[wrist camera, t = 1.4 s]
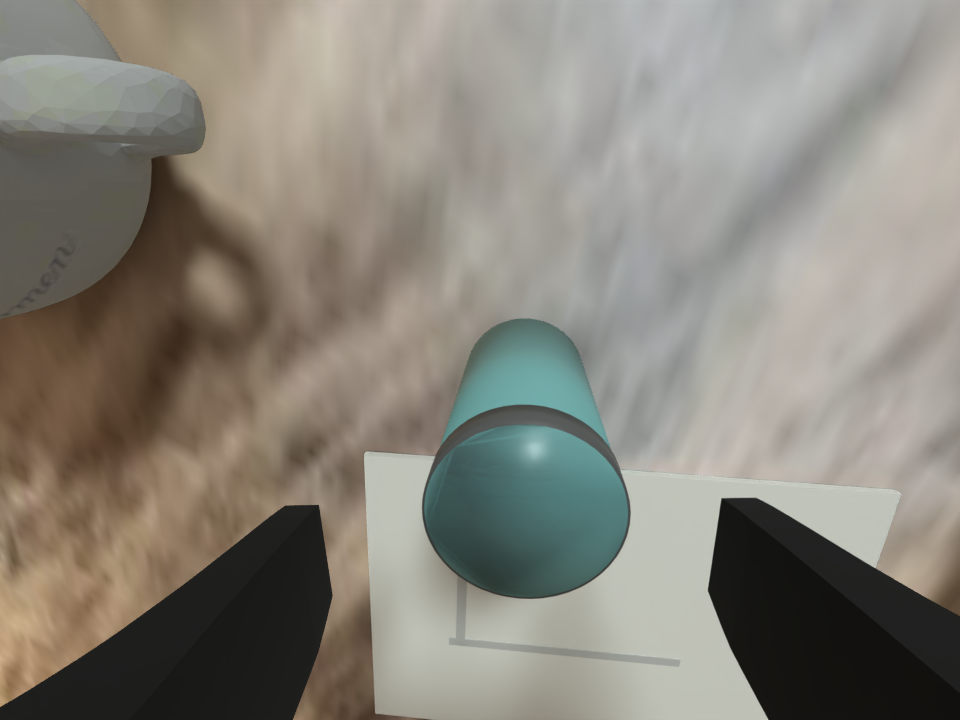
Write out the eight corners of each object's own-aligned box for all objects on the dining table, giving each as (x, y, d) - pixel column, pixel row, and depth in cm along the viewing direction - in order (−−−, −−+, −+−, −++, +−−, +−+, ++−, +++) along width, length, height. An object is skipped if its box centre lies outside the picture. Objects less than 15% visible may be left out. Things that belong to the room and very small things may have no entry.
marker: (586, 313, 18) (645, 429, 9) (575, 420, 19) (617, 607, 11) (469, 307, 18) (421, 414, 10) (466, 412, 19) (421, 590, 11)
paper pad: (895, 489, 19) (901, 494, 19) (804, 752, 23) (808, 760, 23) (366, 451, 20) (363, 455, 20) (376, 707, 25) (374, 714, 24)
